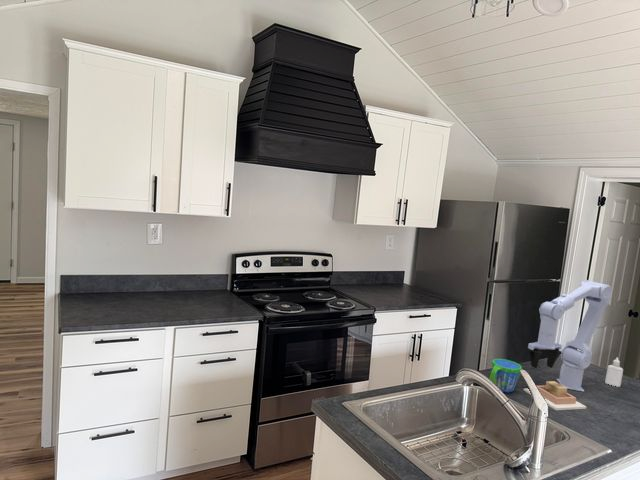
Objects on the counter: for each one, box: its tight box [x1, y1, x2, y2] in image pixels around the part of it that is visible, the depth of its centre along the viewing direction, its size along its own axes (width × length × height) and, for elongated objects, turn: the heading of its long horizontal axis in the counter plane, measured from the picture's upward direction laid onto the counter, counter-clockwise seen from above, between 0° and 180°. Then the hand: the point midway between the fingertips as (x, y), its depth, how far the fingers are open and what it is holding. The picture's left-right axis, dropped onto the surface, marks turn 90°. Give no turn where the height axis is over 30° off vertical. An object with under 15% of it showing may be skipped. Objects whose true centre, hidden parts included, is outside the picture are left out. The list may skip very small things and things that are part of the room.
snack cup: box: [488, 358, 523, 393], centre depth 176 cm, size 16×10×10 cm
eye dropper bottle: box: [604, 357, 624, 388], centre depth 194 cm, size 4×6×12 cm
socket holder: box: [523, 384, 587, 411], centre depth 172 cm, size 16×14×3 cm
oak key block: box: [545, 380, 568, 397], centre depth 172 cm, size 6×4×5 cm, turn 18°
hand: (541, 366), depth 179 cm, fingers open, 7 cm apart
